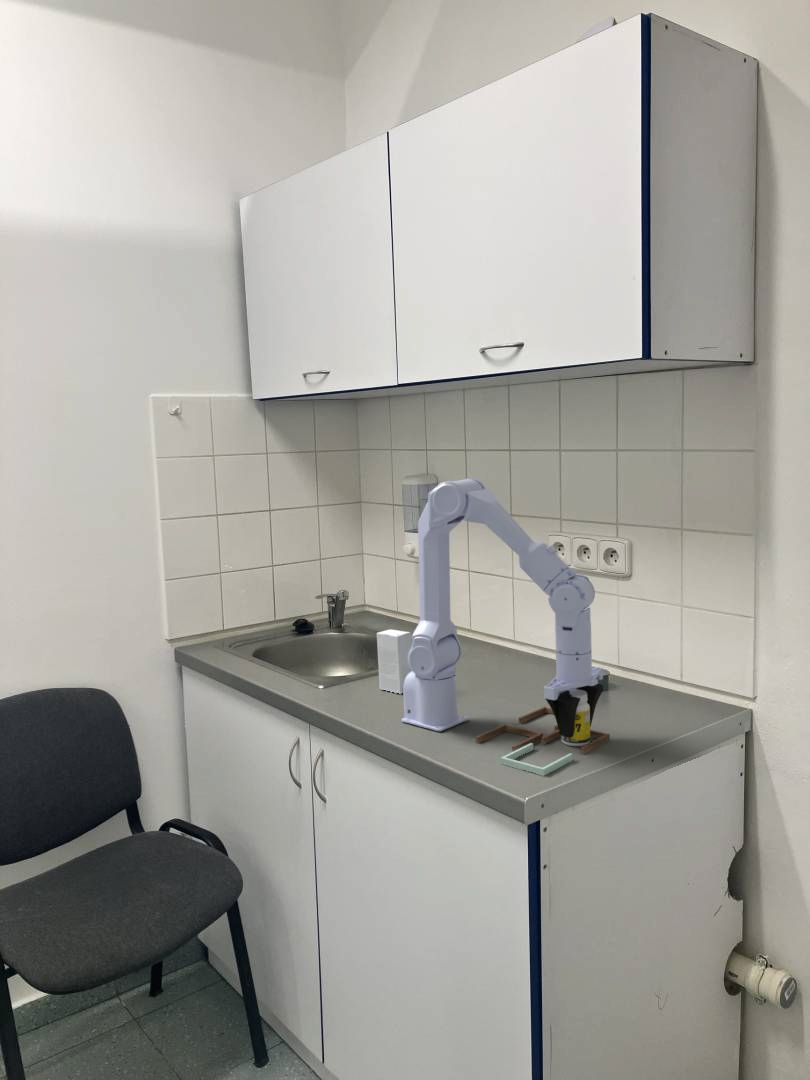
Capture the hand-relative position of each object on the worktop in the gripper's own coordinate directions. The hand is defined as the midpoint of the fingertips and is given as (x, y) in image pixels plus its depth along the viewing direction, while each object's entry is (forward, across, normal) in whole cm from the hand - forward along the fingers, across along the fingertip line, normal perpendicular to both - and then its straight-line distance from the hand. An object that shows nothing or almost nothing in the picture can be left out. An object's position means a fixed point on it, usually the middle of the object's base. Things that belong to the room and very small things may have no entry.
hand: (575, 731), depth 145 cm
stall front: (+2, 0, 0) cm, 2 cm away
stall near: (+2, -6, +9) cm, 11 cm away
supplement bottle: (+2, 0, 0) cm, 2 cm away
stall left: (+2, +6, +9) cm, 11 cm away
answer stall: (+2, -11, 0) cm, 11 cm away
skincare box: (+2, +4, +45) cm, 45 cm away
